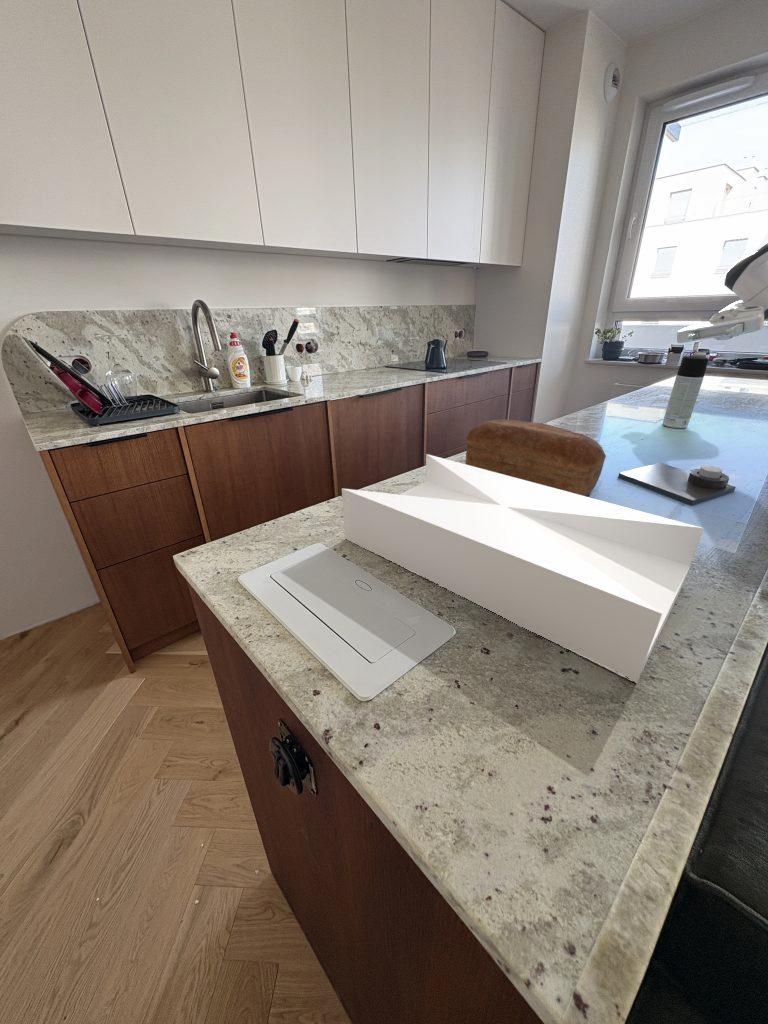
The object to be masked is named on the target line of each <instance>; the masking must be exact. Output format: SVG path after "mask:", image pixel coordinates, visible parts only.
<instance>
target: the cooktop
mask: <svg viewBox="0 0 768 1024" xmlns="http://www.w3.org/2000/svg"><path fill="white" fill-rule="evenodd" d="M699 471H700V468H694V469H691V470H690V471H687V470H685V469H682V468H678V467H676V466H672V465H668V464H667V463H664V462H658V463H653V464H649V465H645V466H642V467H637V468H633V469H630V470H625V471H621V472H619V473H618V476H617V478H618V479H620V480H622V481H625V482H628V483H631V484H634V485H636V486H638V487H641V488H643V489H646V490H648V491H652V492H654V493H656V494H659V495H662V496H664V497H667V498H669V499H672V500H675V501H677V502H680V503H683V504H685V505H688V506H691V507H692V506H696V505H699V504H702V503H705V502H707V501H711V500H715V499H717V498H721V497H723V496H726V495H729V494H732V493H734V492H735V490H736V489H737V487H736V486H735V485H730V484H728V483H729V481H730V476H729V475H727V474H725V473H723V472H722V473H721V476H720V478H719V479H712V478H706V477H703V476H700V475H699Z"/></svg>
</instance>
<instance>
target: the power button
mask: <svg viewBox="0 0 768 1024" xmlns="http://www.w3.org/2000/svg"><path fill="white" fill-rule="evenodd" d="M699 469H700V471H699V475H700V476H703V477H706V478H712V479H719V478H720V476H721V473H723V469H722V468H721V467H718V466H714V465H701V466H700V468H699Z"/></svg>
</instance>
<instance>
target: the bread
mask: <svg viewBox="0 0 768 1024" xmlns="http://www.w3.org/2000/svg"><path fill="white" fill-rule="evenodd" d="M466 443H467V444H466V450H465V451H466V453H465V464H466V465H470V466H474V467H477V468H481V469H485V470H488V471H492V472H496V473H500V474H503V475H507V476H511V477H515V478H518V479H522V480H526V481H530V482H533V483H537V484H541V485H545V486H548V487H552V488H556V489H560V490H563V491H567V492H571V493H574V494H578V495H582V496H586V495H588V494H590V493H591V492H592V491H593V490H594V489H595V488H596V485H597V484H598V481H599V479H600V477H601V475H602V471H603V468H604V464H605V460H606V459H607V455H606V453H605V451H604V448H603V446H601V444H600V443H599V442H598V441H597V440H595V439H593V438H591V437H590V436H588V435H585V434H583V433H580V432H579V433H578V432H574V431H571V430H569V429H566V428H562V427H558V426H554V425H551V424H548V423H543V422H532V421H525V420H515V419H506V418H501V419H494V420H486V421H484V422H481V423H479V424H477V425H475V426H474V427H472V429H470V431H469V432H468V434H467V436H466Z"/></svg>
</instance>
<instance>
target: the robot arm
mask: <svg viewBox="0 0 768 1024" xmlns="http://www.w3.org/2000/svg"><path fill="white" fill-rule="evenodd" d="M724 286H725V287H726V288H727V289H729V290H730V291H731V292H733V293H734V294H735V295H736V296H737V297H738V298H739V299H740V300H737V301H735V302H733V303H731V304H729V305H727V306H726V307H724V308H723V309H721V310H719V311H718V312H716V313H714V314H713V315H712V316H711V318H710V319H709V321H708V322H704V323H699V324H693V325H689V326H687V327H684V328H682V329H680V330H678V331H677V332H676V341H677V343H678V344H684V343H691V342H697V341H703V340H708V339H713V340H716V341H728V340H731V339H733V338H736V337H739V336H742V335H746V334H750V333H755V332H758V331H761V330H763V329H764V325H765V320H767V319H768V242H767V243H766V244H764V245H762V246H761V247H760V248H758V249H757V250H756V251H754V252H752V253H750V254H748V255H745V256H744V257H742V258H741V259H739V260H737V261H736V262H735V263H734V264H733V265H731V266H730V268H729V269H728V271H727V272H725V277H724Z"/></svg>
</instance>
